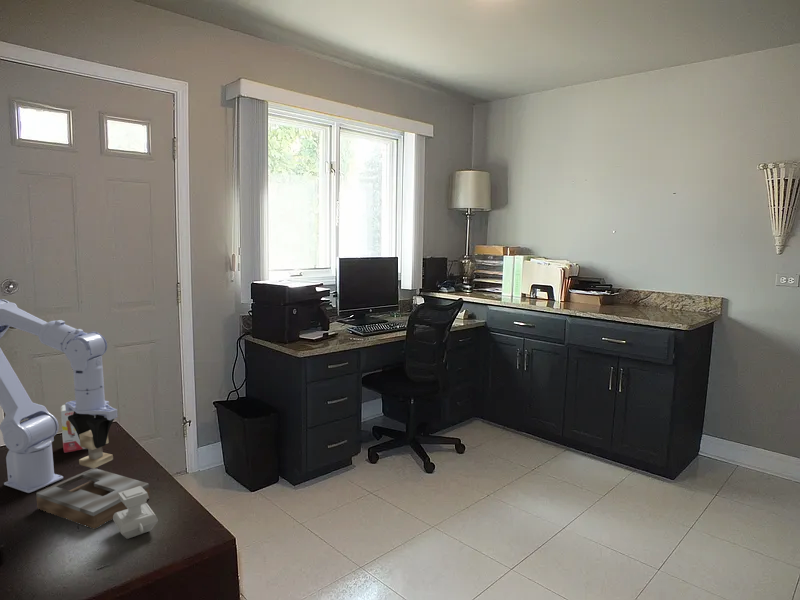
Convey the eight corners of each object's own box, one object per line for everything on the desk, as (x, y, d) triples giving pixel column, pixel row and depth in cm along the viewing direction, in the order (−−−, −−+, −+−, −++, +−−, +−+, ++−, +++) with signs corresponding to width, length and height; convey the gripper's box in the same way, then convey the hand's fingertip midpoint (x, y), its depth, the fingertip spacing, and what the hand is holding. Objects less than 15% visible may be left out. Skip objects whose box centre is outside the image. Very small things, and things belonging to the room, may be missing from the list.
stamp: (161, 535, 101) (158, 494, 100) (123, 548, 97) (121, 506, 95) (147, 516, 108) (144, 478, 106) (111, 527, 103) (109, 488, 102)
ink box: (63, 453, 137) (59, 410, 135) (63, 446, 141) (59, 405, 139) (100, 446, 142) (97, 404, 140) (99, 440, 146) (96, 399, 144)
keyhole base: (37, 508, 110) (36, 492, 109) (94, 482, 122) (93, 467, 121) (94, 529, 103) (93, 512, 102) (149, 498, 114) (148, 483, 114)
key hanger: (79, 464, 117) (76, 434, 116) (98, 455, 122) (96, 426, 121) (94, 468, 115) (91, 438, 114) (113, 459, 120) (110, 430, 119)
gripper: (128, 386, 117) (131, 443, 119) (84, 378, 122) (88, 433, 124) (99, 395, 110) (103, 455, 112) (54, 386, 116) (59, 444, 118)
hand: (93, 444), depth 118 cm, fingers closed on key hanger, 4 cm apart
